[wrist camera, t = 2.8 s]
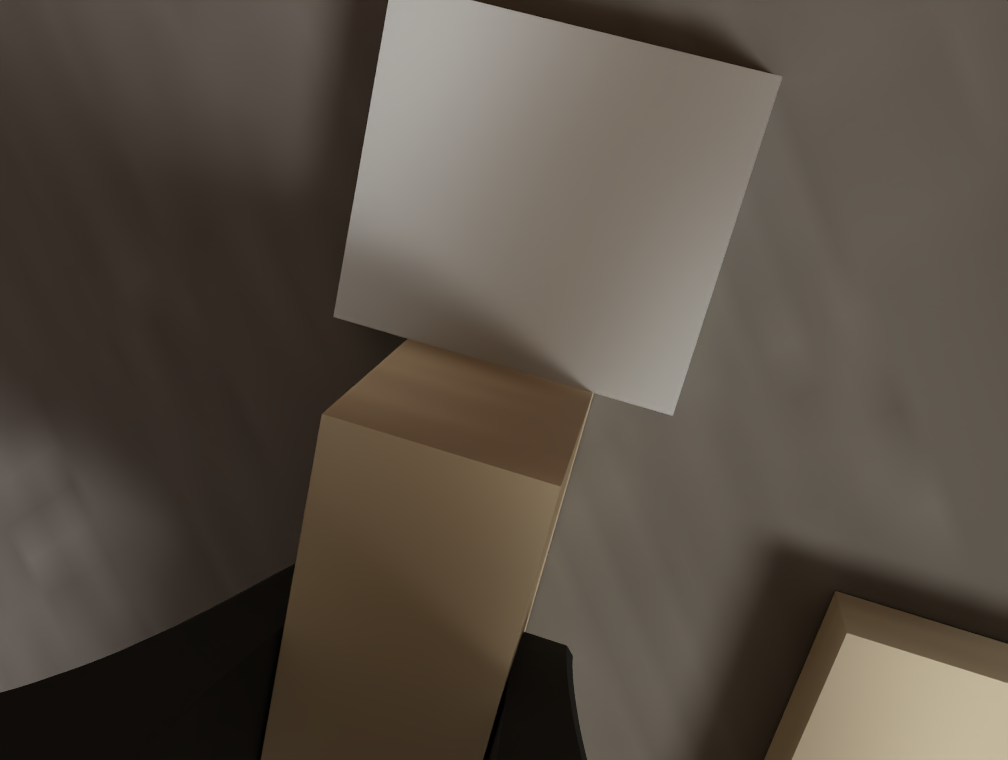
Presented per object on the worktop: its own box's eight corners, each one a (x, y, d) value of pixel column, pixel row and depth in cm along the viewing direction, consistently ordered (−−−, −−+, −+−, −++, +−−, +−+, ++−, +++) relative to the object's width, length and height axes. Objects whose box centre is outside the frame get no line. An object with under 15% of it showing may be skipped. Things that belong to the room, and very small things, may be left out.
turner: (255, 849, 16) (135, 1057, 12) (412, -12, 11) (286, -56, 8) (499, 938, 15) (443, 1180, 12) (776, 76, 10) (814, 73, 7)
